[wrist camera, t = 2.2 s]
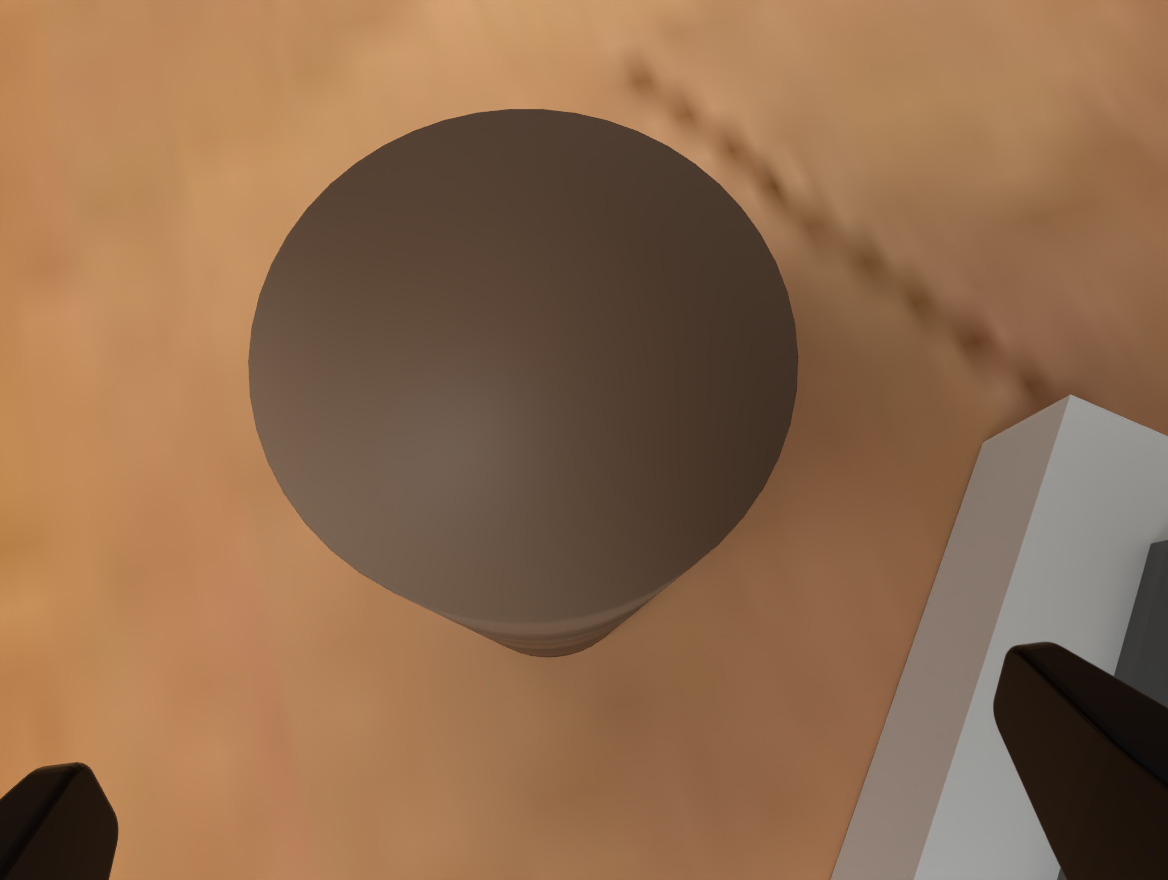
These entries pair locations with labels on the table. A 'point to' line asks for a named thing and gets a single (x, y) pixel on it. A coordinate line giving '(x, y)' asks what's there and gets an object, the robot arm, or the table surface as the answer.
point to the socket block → (1016, 639)
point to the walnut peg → (523, 371)
